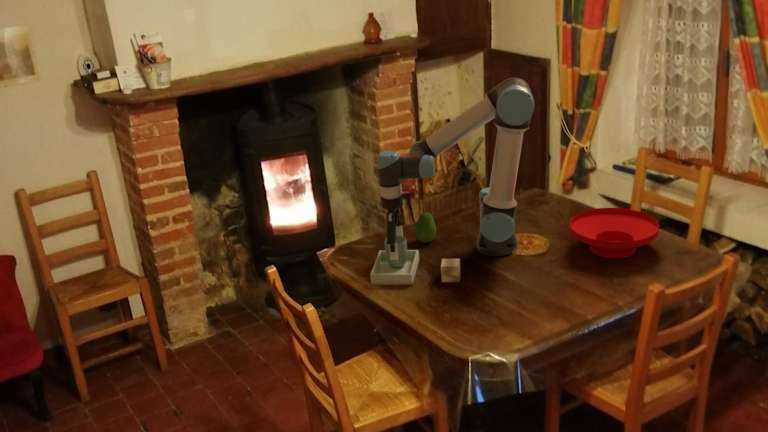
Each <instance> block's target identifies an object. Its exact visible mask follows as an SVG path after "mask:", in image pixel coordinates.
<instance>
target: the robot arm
mask: <svg viewBox="0 0 768 432" xmlns="http://www.w3.org/2000/svg"><path fill="white" fill-rule="evenodd" d="M534 111H535V99H534V96H533V94H532V89H531V87H530V85H529V84H528V83H527V81H525V80H524V79H522V78H518V77H510V78H507V79H504V80H503V81H502V82H500V83H498V84H497V85H496V86H494V87H493V88H492V89H490V90H489V91H487V92H486V93H485V95H484V98H483V99H481V100H479V101H478V102H477V103H475V104H474V105H472V106H471V107H469V108H467V109H466V110H465V111H464V112H462V113H460V114H459V115H458V116H456V117H455V118H453V119H452V120H451V121H449V122H448V123H446V124H444V125H443V126H442V127H440V128H439V129H437V130H436V131H434V132H433V133H431V134H430V135H429V136H427V137H425V138H424V139H423V140H418V141H416V142H414V143H413V144H411V147H410V149H409V151H408V156H400V155H399V153H398V152H397V151H395V150H384V151H381V152H380V153H378V154H377V155H376V169H377V176H378V182H379V183H378V184H379V186H378V187H377V189H378V190H379V192H380V203H381V204H380V205H381V207H382V208H383V209H385V210H387V212H386V216H385V218H386V238H387V241H386V244H389V252H390V260H398V251H397V242H396V236H403V237H404V233H403V226H405V222H404V221H403V217H402V211H401V207H403V205H404V200H403V188H402V181H401V180H410V179H427V178H434V176H435V175H436V165H435V158H437V157H438V156H440V155H442V153H443V154H444V152H445V151H447V150H448V149H450V148H452V147H453V146H455V145H456V144H458V143H459V142H461V141H462V140H464V139H465V138H466V137H468V136H470V135H471V134H473V133H474V132H476V131H477V130H479V129H480V128H482V127H483V126H485V125H486V124H487V123H489V122H490V121H492V120H493V119H494V121H493V123H494V125H495V127H496V128H497V132H496V139H495V146H494V153H493V158H492V160H493V161H492V166H491V174H490V181H489V186H488V187H484V188H482V189H481V190H479V194H478V195H479V196H478V200H479V201H478V202H479V233H478V237H477V240H476V250H477V251H478V252H479V253H480V254H482V255H485V256H490V257H503V256H508V255H511V254H513V253H512V252H513V251H515V249H517V247H518V248H519V240H518V237H517V234H516V232H515V229H516V223H515V220H516V212H517V206H518V202H517V200H516V199H515V197H514V196H515V191H516V184H517V178H518V171H519V170H518V169H519V165H520V159H521V158H520V157H521V152H522V145H523V139H524V133H525V132H526V131H527V130H529V129H530V126H531V118H532V116H533V113H534ZM517 250H518V249H517ZM515 252H516V251H515Z"/></svg>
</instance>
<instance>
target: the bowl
mask: <svg viewBox="0 0 768 432" xmlns="http://www.w3.org/2000/svg"><path fill="white" fill-rule="evenodd" d="M568 230H569V233H570V235H571V236H572V237H573V238H575V239H576V240H578V241H580V242H582V243H584V244H587V245H589V250H590V252H591V253H593V254H594V255H596V256H598V257H602V258H607V259H624V258H628V257H631V256H632V255H634V254H635V253H636V251H637V247H640V246H644V245H648V244H650V243H651V242H653V241H655V240H656V239H657V238H658V236H659V231H660V223H659V222H658V220H657V219H656V218H654V217H653V216H651V215H649V214H647V213H645V212H643V211H640V210H635V209H630V208H624V207H623V208H622V207H600V208H599V207H598V208H592V209H588V210H584V211H581V212H579V213H576V214H575V215H574V216H573V217H571V218H570V220H569V229H568Z"/></svg>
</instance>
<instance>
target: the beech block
mask: <svg viewBox="0 0 768 432" xmlns="http://www.w3.org/2000/svg"><path fill="white" fill-rule="evenodd" d="M440 273H441V274H440V275H441V283H460V280H461V274H462V273H461V258H441V263H440Z"/></svg>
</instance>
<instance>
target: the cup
mask: <svg viewBox="0 0 768 432" xmlns="http://www.w3.org/2000/svg"><path fill="white" fill-rule="evenodd" d="M386 241H387V237H386V238H385V239H384V249H385V253H386V259H387V262H388V264H389V265H390V266H391V267H394V268H399V267H402V266H404V265H405V264H406V261H407V250H408V244H407V242H408V241H407V238H406V237H405V236H404V235H403V236H396V242H397V251H398V260H390V252H389V244H386Z"/></svg>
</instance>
